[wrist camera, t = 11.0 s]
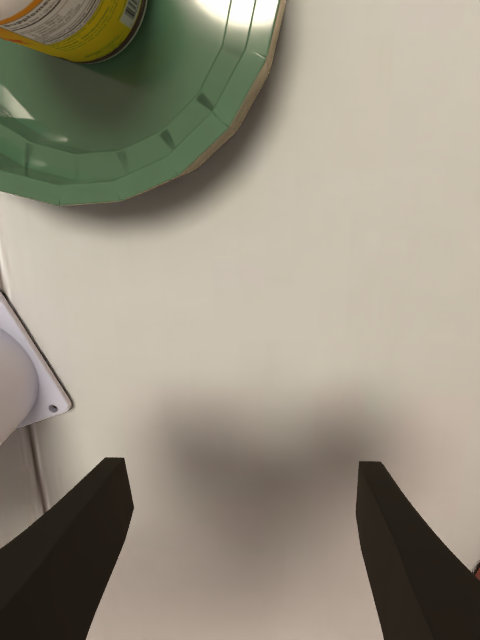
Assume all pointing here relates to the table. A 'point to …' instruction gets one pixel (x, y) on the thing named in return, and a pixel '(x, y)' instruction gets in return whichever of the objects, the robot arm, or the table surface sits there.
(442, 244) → the table surface
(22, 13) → the supplement bottle
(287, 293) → the table surface
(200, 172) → the table surface
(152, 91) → the bowl
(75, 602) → the robot arm
